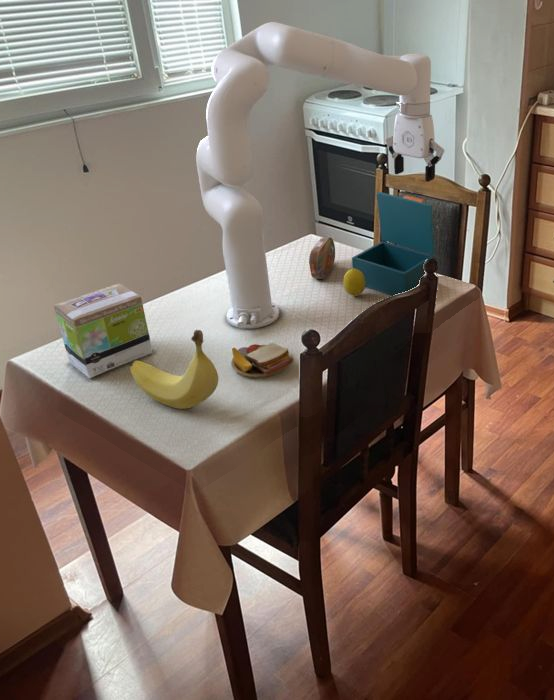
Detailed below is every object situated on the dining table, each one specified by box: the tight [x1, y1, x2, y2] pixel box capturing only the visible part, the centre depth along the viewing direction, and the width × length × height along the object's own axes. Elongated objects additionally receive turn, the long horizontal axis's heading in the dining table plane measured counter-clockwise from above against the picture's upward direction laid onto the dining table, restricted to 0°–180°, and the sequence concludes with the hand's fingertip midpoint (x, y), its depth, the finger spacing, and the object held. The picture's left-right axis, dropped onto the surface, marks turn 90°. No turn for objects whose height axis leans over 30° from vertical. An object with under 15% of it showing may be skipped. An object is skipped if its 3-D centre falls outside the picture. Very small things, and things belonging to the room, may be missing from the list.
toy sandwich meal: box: [230, 342, 294, 379], centre depth 157 cm, size 12×14×5 cm
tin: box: [308, 237, 336, 280], centre depth 196 cm, size 15×3×8 cm, turn 168°
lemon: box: [342, 268, 366, 298], centre depth 183 cm, size 6×6×8 cm
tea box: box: [53, 282, 153, 379], centre depth 157 cm, size 15×10×15 cm
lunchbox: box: [351, 240, 435, 296], centre depth 191 cm, size 13×17×7 cm
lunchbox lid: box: [376, 191, 436, 256], centre depth 190 cm, size 14×17×6 cm
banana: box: [129, 329, 219, 409], centre depth 141 cm, size 23×6×20 cm, turn 62°
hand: (414, 176), depth 186 cm, fingers open, 9 cm apart
